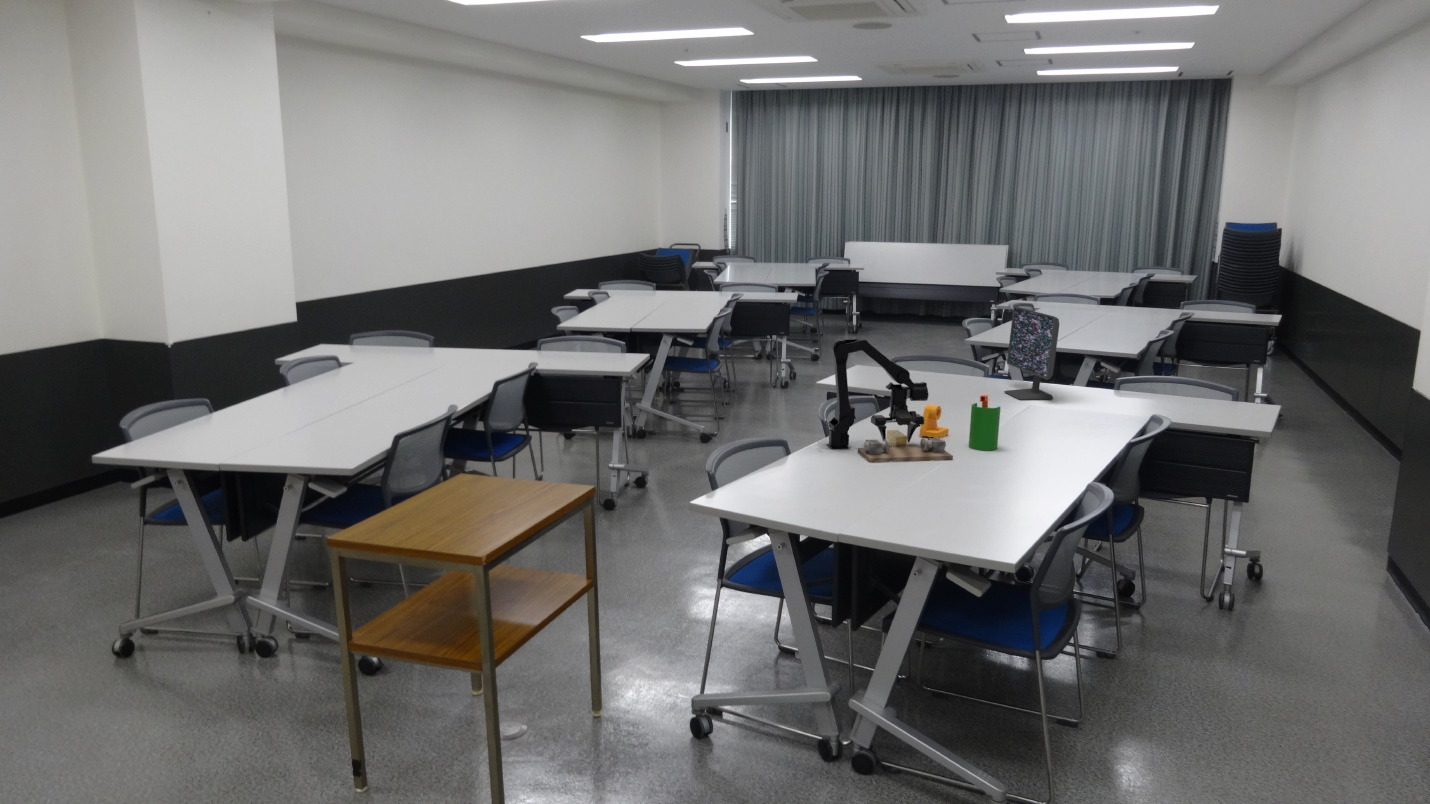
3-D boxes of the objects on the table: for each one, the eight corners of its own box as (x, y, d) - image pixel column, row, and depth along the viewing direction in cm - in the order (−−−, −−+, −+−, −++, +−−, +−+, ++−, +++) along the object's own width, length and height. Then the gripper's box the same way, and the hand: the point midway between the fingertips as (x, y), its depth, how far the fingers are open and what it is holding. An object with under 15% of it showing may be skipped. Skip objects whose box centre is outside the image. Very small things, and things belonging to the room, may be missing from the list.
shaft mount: (870, 462, 327) (870, 445, 325) (857, 452, 340) (858, 435, 339) (952, 459, 331) (953, 442, 330) (937, 449, 345) (938, 433, 344)
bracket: (936, 440, 359) (938, 409, 356) (919, 437, 363) (921, 406, 361) (949, 435, 367) (951, 404, 365) (931, 432, 372) (933, 402, 369)
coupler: (906, 449, 345) (907, 436, 344) (895, 450, 344) (896, 436, 343) (896, 442, 355) (897, 429, 354) (886, 443, 354) (887, 430, 353)
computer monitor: (992, 387, 464) (999, 305, 456) (1024, 387, 466) (1031, 305, 458) (1031, 406, 422) (1039, 316, 413) (1066, 406, 423) (1074, 316, 415)
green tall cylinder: (998, 446, 351) (1002, 393, 346) (994, 452, 343) (999, 397, 339) (970, 443, 355) (974, 390, 351) (966, 448, 347) (970, 395, 343)
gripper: (881, 406, 337) (879, 448, 340) (931, 405, 340) (928, 447, 343) (871, 399, 348) (869, 441, 351) (919, 398, 351) (917, 439, 354)
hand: (896, 442), depth 349 cm, fingers open, 9 cm apart
